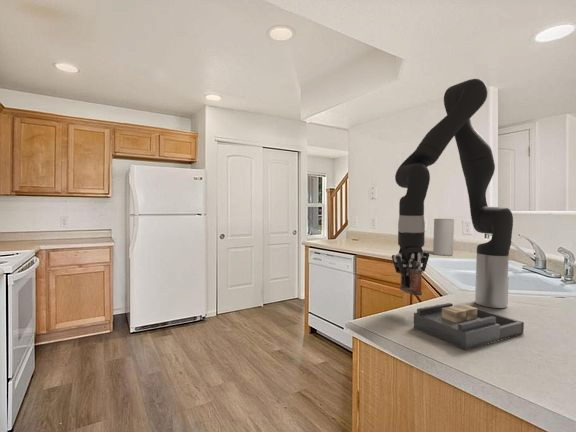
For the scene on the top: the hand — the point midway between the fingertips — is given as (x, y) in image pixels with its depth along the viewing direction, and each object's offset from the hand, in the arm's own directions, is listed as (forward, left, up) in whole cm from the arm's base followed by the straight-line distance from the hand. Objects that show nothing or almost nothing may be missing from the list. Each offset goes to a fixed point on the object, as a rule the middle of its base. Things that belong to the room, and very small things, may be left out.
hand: (410, 286), depth 99 cm
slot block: (+1, +16, -9) cm, 18 cm away
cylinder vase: (-121, -82, -9) cm, 146 cm away
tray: (-10, +16, -9) cm, 21 cm away
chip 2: (-3, +16, -5) cm, 17 cm away
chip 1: (+2, +16, -5) cm, 17 cm away
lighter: (0, 0, -2) cm, 2 cm away
